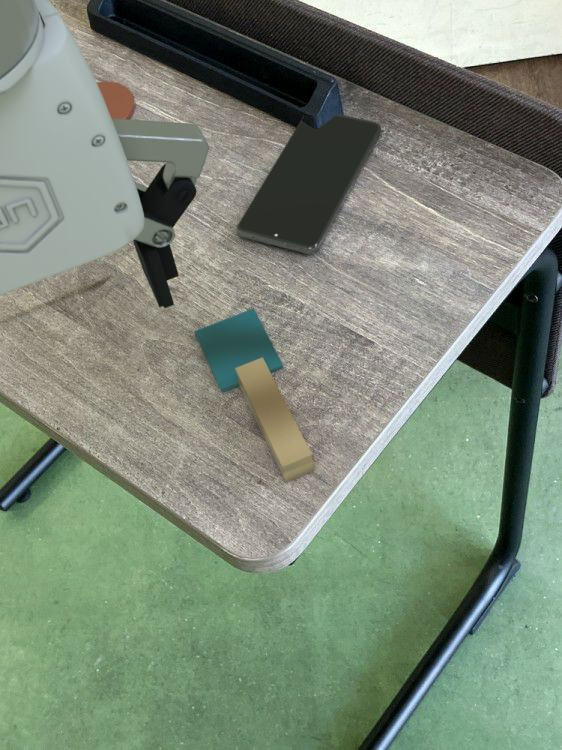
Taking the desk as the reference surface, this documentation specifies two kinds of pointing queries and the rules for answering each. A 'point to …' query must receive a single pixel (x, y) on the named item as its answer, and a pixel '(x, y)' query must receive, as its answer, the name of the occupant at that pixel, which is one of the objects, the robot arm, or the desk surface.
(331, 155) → the smartphone
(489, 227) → the desk surface
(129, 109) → the coaster
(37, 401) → the desk surface
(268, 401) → the spatula
